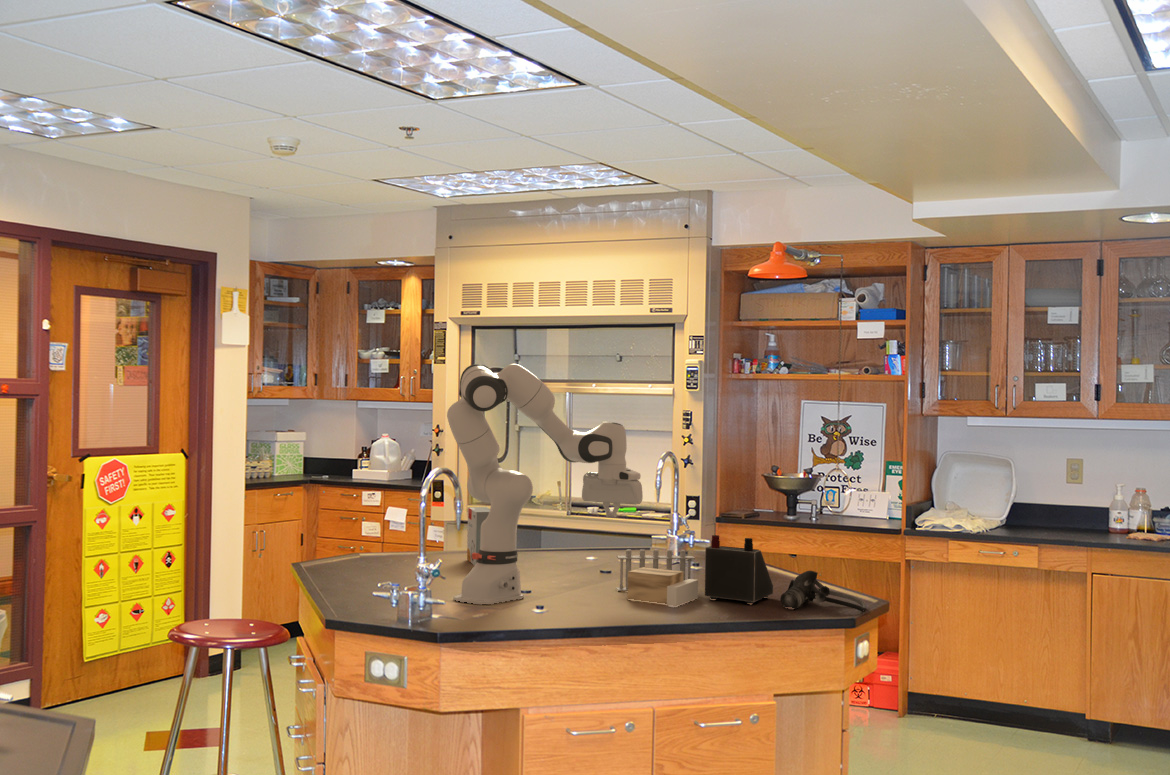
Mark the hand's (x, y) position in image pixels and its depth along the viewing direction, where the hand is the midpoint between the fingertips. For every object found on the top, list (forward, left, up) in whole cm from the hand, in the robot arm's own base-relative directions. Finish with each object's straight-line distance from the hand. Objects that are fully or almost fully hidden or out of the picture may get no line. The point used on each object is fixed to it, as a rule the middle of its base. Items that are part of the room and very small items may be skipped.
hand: (611, 517), depth 324 cm
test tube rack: (+14, -9, -24) cm, 30 cm away
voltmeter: (+16, -37, -24) cm, 47 cm away
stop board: (0, -25, -24) cm, 35 cm away
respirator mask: (+19, -63, -25) cm, 70 cm away
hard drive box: (+27, +69, -24) cm, 78 cm away
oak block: (-1, -16, -24) cm, 29 cm away
